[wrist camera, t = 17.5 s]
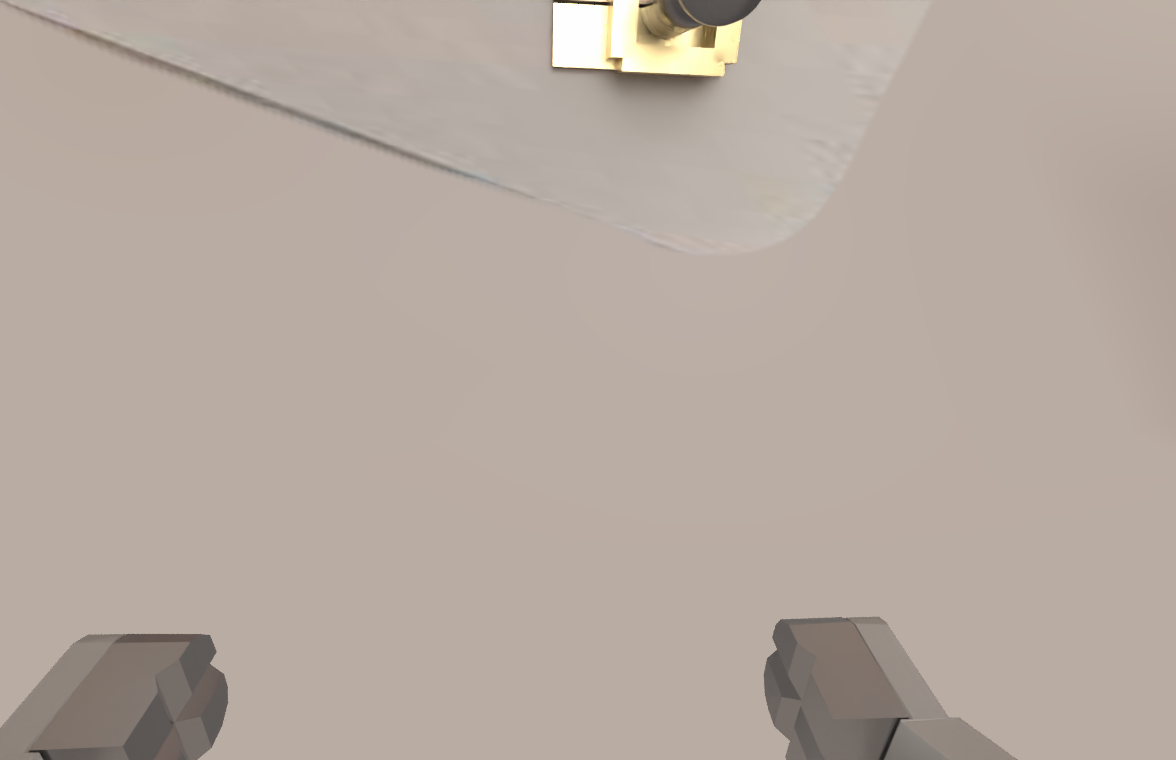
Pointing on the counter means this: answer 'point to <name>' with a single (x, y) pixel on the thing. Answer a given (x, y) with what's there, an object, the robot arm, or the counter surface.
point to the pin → (692, 14)
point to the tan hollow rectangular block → (636, 42)
